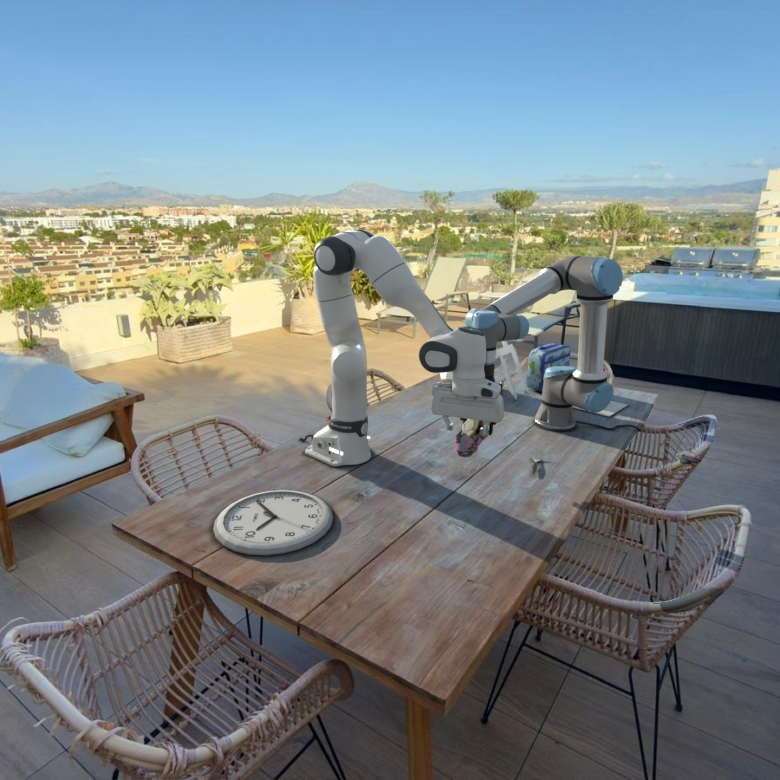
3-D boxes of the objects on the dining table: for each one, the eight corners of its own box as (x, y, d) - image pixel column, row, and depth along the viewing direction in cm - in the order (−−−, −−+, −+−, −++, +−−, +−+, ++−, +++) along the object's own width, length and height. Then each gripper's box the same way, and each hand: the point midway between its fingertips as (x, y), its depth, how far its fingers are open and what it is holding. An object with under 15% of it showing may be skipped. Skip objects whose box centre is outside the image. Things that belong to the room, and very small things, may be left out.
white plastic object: (461, 429, 252) (437, 405, 227) (444, 352, 274) (420, 323, 250) (535, 404, 240) (518, 377, 215) (510, 326, 262) (492, 293, 237)
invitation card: (608, 416, 214) (573, 407, 224) (608, 416, 214) (573, 408, 224) (628, 404, 229) (594, 396, 238) (628, 405, 229) (594, 397, 238)
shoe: (493, 431, 168) (495, 406, 165) (476, 461, 146) (478, 432, 144) (468, 427, 171) (469, 402, 168) (447, 456, 149) (448, 428, 147)
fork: (528, 475, 162) (529, 469, 161) (533, 455, 176) (534, 449, 176) (537, 476, 161) (537, 470, 160) (541, 456, 175) (542, 451, 175)
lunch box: (542, 395, 240) (547, 351, 233) (522, 390, 247) (526, 347, 241) (569, 384, 257) (575, 343, 251) (550, 380, 264) (554, 339, 258)
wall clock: (331, 546, 121) (198, 551, 119) (331, 552, 122) (199, 557, 119) (333, 485, 150) (227, 488, 147) (334, 490, 150) (227, 493, 148)
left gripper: (428, 384, 145) (427, 431, 150) (502, 393, 138) (499, 441, 142) (435, 378, 151) (434, 423, 155) (506, 386, 144) (503, 433, 148)
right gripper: (446, 361, 160) (443, 430, 166) (514, 368, 152) (507, 441, 159) (453, 356, 166) (449, 423, 173) (518, 363, 159) (512, 432, 166)
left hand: (466, 432), depth 149 cm, fingers open, 8 cm apart
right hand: (477, 431), depth 166 cm, fingers closed on shoe, 8 cm apart
